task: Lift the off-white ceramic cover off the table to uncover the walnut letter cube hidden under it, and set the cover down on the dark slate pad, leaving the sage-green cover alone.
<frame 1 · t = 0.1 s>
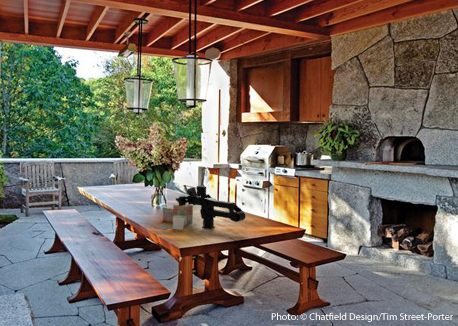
hand: (180, 198, 288), 17 cm above the table, tool horizontal, fingers open, 9 cm apart
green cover: (179, 224, 281), on the table
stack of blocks: (177, 221, 291), on the table
slate pad: (164, 227, 272), on the table
letter cube: (178, 228, 270), on the table
white cover: (178, 228, 270), on the table, touching slate pad
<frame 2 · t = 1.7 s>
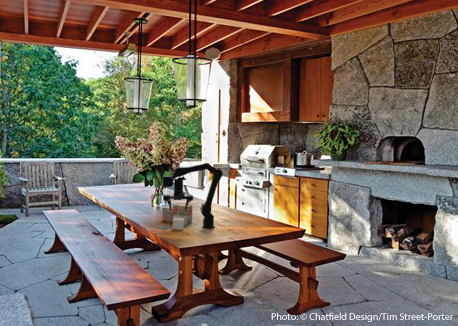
hand: (178, 211, 269), 11 cm above the table, tool pointing down, fingers open, 9 cm apart
nothing on the table moved.
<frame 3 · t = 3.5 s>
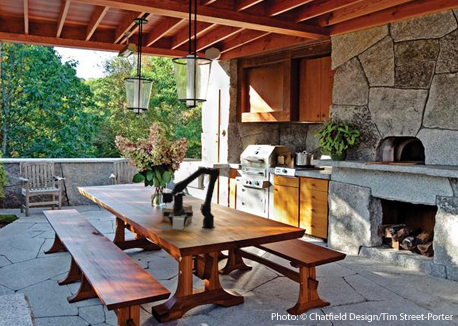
hand: (178, 226, 270), 1 cm above the table, tool pointing down, fingers closed on white cover, 7 cm apart
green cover: (179, 224, 281), on the table, touching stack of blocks
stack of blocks: (176, 221, 291), on the table, touching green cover
white cover: (178, 228, 270), on the table, touching gripper, slate pad
everything else where it was.
when the fingers open (3 cm above the table, at t = 7.9 s): white cover drops 2 cm, resting on slate pad.
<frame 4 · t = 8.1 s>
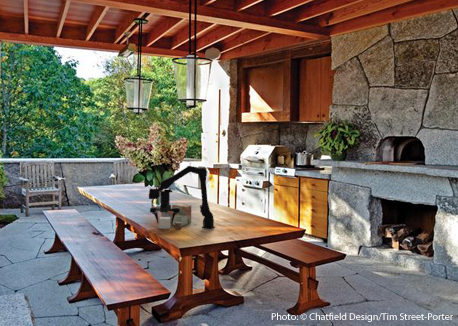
hand: (165, 222, 271), 3 cm above the table, tool pointing down, fingers open, 9 cm apart
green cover: (179, 224, 281), on the table
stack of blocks: (176, 221, 291), on the table
white cover: (165, 227, 272), resting on slate pad
everything else where it was.
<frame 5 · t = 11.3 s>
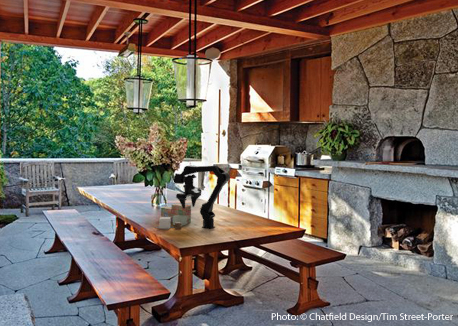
hand: (188, 207, 279), 12 cm above the table, tool pointing down, fingers open, 9 cm apart
nothing on the table moved.
at the end: white cover inside the target area on the slate pad (0.1 cm from its centre), point 0.4 cm above the slate pad's base; white cover tilted 0°; the gripper is holding nothing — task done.
